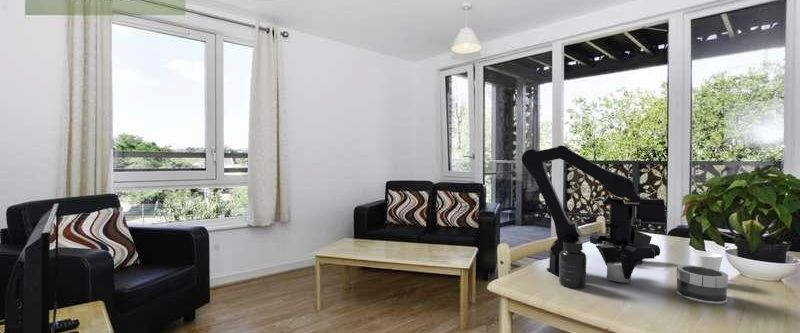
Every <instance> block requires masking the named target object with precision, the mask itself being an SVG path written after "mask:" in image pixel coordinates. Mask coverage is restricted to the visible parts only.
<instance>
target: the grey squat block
mask: <svg viewBox="0 0 800 333" xmlns="http://www.w3.org/2000/svg"><path fill="white" fill-rule="evenodd" d="M606 279H608V280H610V281H613V282H617V283H630V282H632V275H631V276H630V278H629V279H625V277H624V274H623V269H622V264H621V263H620V262H608V263H607V266H606Z"/></svg>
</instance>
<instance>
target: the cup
mask: <svg viewBox="0 0 800 333" xmlns="http://www.w3.org/2000/svg"><path fill="white" fill-rule="evenodd" d="M691 254H692V259H693V260H692V261H693V266H702V267H707V268H712V269H716V270H719V271H720V269H721V264H722V261H723V256H722V254H719V253H717V252H712V251H704V250H694V251H691Z"/></svg>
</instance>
